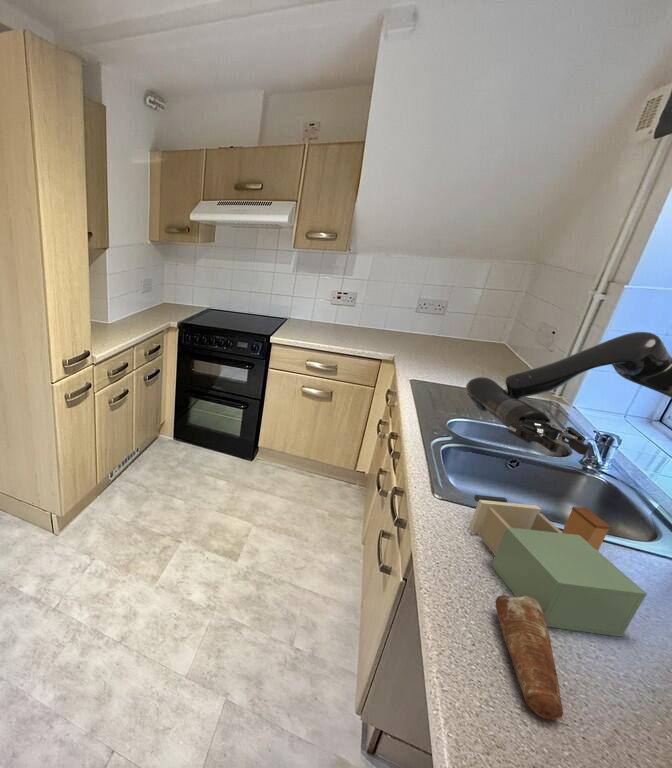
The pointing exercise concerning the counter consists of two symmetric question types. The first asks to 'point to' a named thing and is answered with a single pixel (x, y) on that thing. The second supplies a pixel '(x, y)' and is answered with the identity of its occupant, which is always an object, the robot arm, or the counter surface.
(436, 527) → the counter surface
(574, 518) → the brown block
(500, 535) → the drawer
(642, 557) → the counter surface
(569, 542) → the cabinet
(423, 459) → the counter surface
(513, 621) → the bread
